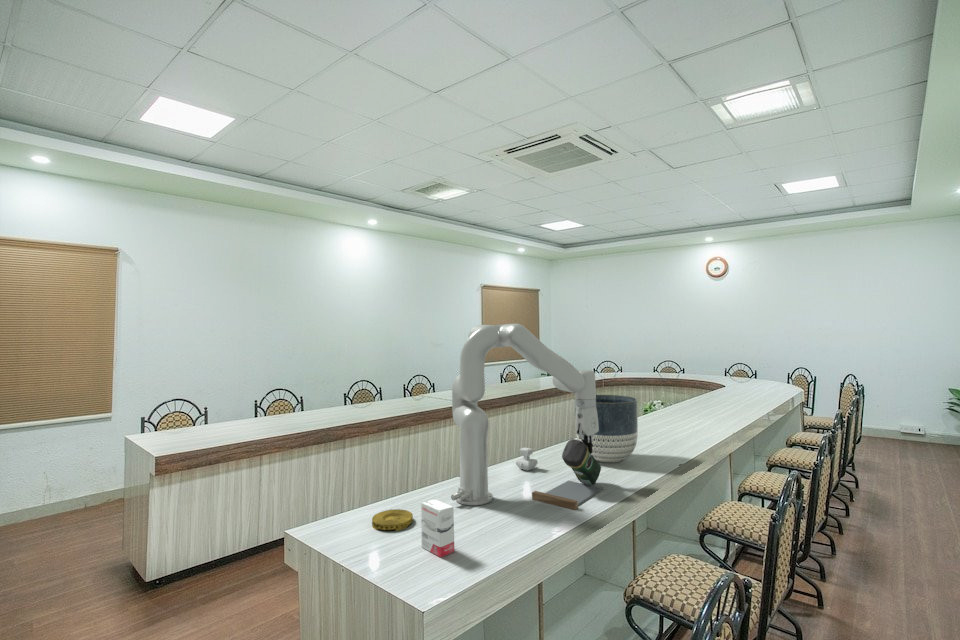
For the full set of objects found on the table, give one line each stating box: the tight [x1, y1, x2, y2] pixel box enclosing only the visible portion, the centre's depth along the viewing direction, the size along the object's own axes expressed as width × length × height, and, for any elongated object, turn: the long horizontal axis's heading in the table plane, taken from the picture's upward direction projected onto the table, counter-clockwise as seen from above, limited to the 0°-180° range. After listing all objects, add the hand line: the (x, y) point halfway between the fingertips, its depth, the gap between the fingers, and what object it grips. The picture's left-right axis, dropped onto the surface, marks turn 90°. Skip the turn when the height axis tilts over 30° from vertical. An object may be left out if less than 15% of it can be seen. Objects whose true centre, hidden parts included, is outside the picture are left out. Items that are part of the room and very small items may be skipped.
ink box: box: [420, 498, 455, 558], centre depth 122 cm, size 8×5×12 cm, turn 43°
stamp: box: [515, 447, 538, 472], centre depth 192 cm, size 9×7×8 cm
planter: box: [574, 394, 639, 463], centre depth 204 cm, size 27×27×27 cm
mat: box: [545, 480, 604, 506], centre depth 162 cm, size 21×14×1 cm, turn 141°
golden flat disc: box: [371, 508, 414, 532], centre depth 139 cm, size 12×12×2 cm
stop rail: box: [531, 490, 579, 511], centre depth 153 cm, size 2×16×2 cm, turn 51°
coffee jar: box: [561, 438, 602, 486], centre depth 168 cm, size 10×8×19 cm
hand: (587, 452), depth 172 cm, fingers closed
